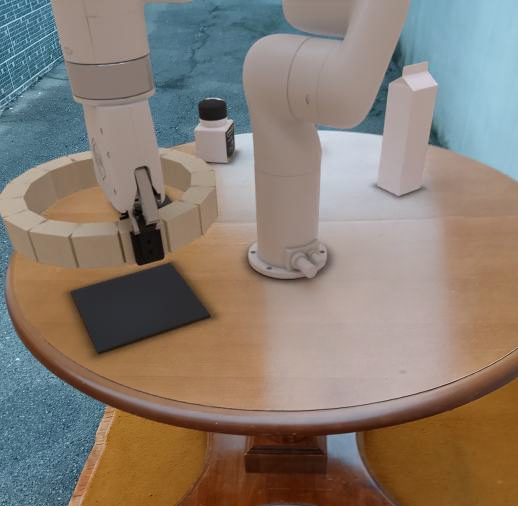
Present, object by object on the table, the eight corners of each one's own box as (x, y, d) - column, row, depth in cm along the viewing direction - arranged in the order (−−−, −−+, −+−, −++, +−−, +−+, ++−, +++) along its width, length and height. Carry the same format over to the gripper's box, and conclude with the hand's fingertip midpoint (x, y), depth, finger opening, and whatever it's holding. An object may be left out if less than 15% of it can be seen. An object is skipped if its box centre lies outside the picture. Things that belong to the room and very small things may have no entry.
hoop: (252, 231, 64) (251, 200, 61) (27, 293, 55) (15, 260, 53) (175, 161, 82) (172, 134, 79) (-4, 199, 73) (-14, 170, 70)
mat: (210, 316, 75) (210, 314, 75) (98, 354, 70) (97, 351, 69) (170, 264, 86) (170, 262, 86) (71, 293, 81) (70, 291, 80)
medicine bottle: (228, 163, 117) (223, 106, 109) (196, 162, 118) (190, 105, 111) (235, 151, 122) (232, 95, 115) (205, 150, 124) (200, 95, 116)
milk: (420, 188, 104) (443, 64, 90) (397, 196, 102) (417, 70, 88) (398, 178, 108) (416, 57, 94) (375, 185, 106) (391, 63, 91)
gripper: (52, 65, 53) (94, 232, 65) (93, 107, 42) (135, 300, 54) (125, 55, 56) (153, 217, 67) (182, 92, 44) (204, 279, 56)
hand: (145, 252), depth 60 cm, fingers closed on hoop, 3 cm apart
